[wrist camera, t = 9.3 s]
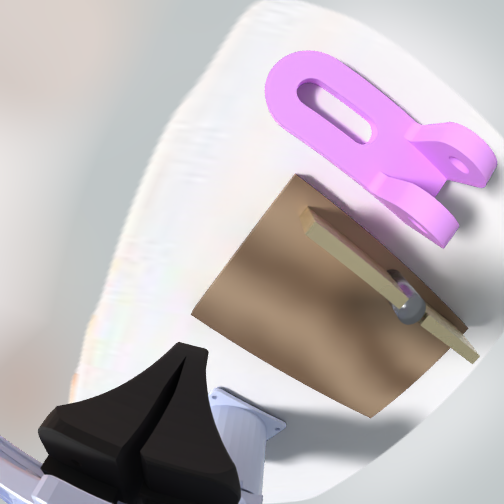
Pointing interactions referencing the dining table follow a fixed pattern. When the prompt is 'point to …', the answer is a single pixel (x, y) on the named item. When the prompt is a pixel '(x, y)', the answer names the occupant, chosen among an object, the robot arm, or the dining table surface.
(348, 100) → the bracket
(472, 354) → the swing leaf
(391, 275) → the fixed leaf
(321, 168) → the dining table surface
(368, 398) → the walnut board
